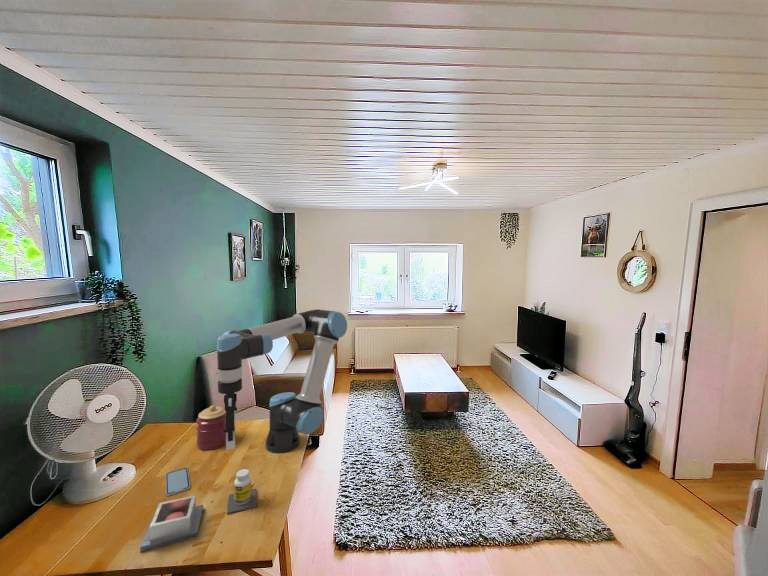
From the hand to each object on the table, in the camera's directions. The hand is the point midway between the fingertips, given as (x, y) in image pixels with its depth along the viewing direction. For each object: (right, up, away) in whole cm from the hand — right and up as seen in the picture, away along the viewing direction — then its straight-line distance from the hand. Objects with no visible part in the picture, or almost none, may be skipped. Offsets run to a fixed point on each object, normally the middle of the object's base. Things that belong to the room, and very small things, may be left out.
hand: (231, 438), depth 110 cm
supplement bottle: (+5, -21, -1) cm, 21 cm away
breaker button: (-11, -20, -13) cm, 26 cm away
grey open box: (-11, -22, -13) cm, 27 cm away
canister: (-26, -19, +35) cm, 47 cm away
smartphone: (-24, -21, +9) cm, 33 cm away
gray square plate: (+4, -21, -1) cm, 22 cm away
